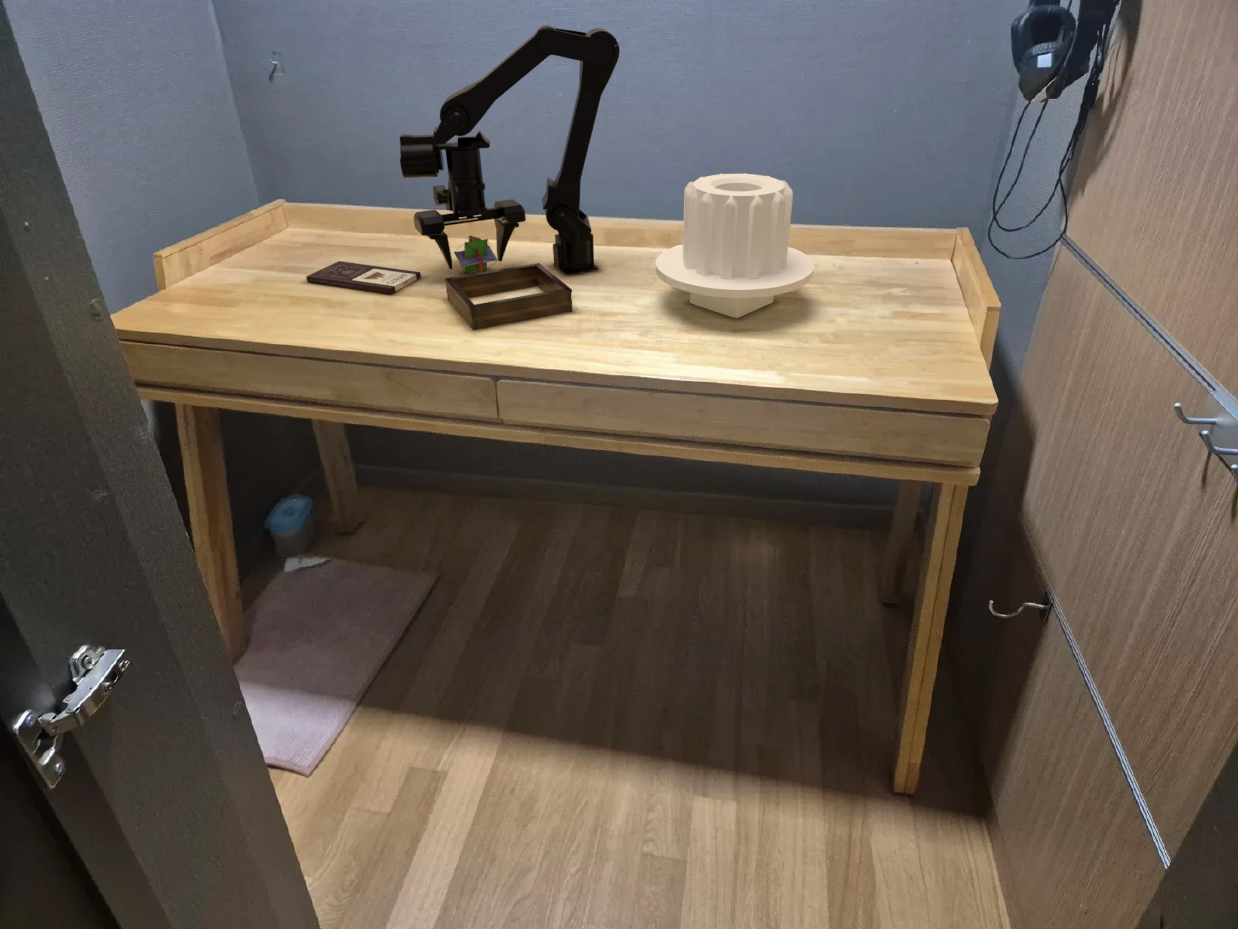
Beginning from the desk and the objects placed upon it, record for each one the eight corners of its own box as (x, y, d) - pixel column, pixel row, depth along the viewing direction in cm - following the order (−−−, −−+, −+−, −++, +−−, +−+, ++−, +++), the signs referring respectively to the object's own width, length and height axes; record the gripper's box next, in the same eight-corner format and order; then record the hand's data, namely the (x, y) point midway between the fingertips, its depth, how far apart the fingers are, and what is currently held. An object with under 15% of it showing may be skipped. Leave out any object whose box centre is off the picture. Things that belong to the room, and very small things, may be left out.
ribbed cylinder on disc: (720, 267, 148) (726, 158, 138) (839, 301, 133) (855, 182, 123) (624, 304, 134) (622, 185, 124) (744, 347, 118) (754, 216, 108)
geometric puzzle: (505, 266, 144) (492, 224, 144) (468, 273, 141) (454, 229, 141) (495, 281, 150) (483, 240, 151) (460, 287, 148) (447, 245, 148)
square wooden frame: (540, 283, 143) (539, 262, 141) (573, 311, 131) (572, 289, 129) (447, 299, 137) (444, 278, 135) (472, 330, 125) (470, 307, 123)
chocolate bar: (339, 260, 151) (420, 272, 145) (340, 265, 152) (421, 277, 146) (306, 276, 144) (389, 288, 138) (307, 281, 145) (390, 293, 139)
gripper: (502, 160, 148) (509, 245, 156) (400, 172, 141) (413, 260, 150) (523, 172, 139) (530, 261, 148) (415, 185, 133) (429, 278, 141)
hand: (475, 264), depth 147 cm, fingers open, 9 cm apart
